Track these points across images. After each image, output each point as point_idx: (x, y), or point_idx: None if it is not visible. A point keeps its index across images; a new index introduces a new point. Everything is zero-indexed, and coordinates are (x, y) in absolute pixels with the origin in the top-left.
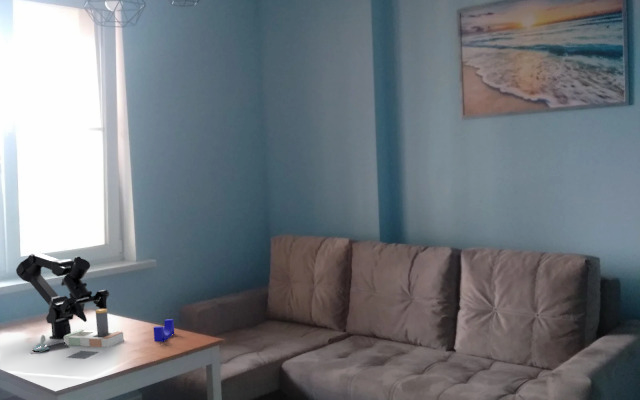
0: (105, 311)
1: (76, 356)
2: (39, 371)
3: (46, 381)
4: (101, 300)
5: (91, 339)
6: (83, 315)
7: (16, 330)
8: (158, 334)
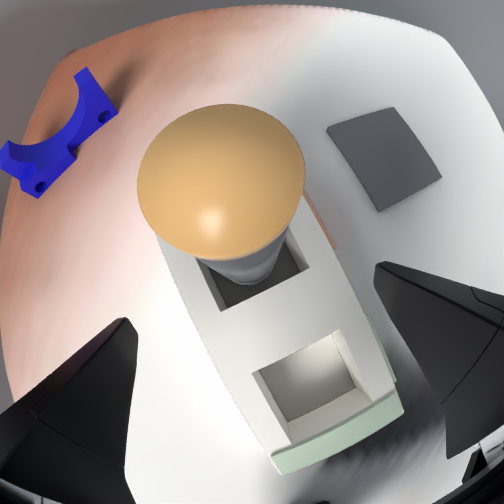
0: (198, 119)
1: (412, 152)
2: (490, 144)
3: (467, 77)
4: (46, 461)
5: (327, 233)
6: (426, 273)
7: None
8: (100, 87)
